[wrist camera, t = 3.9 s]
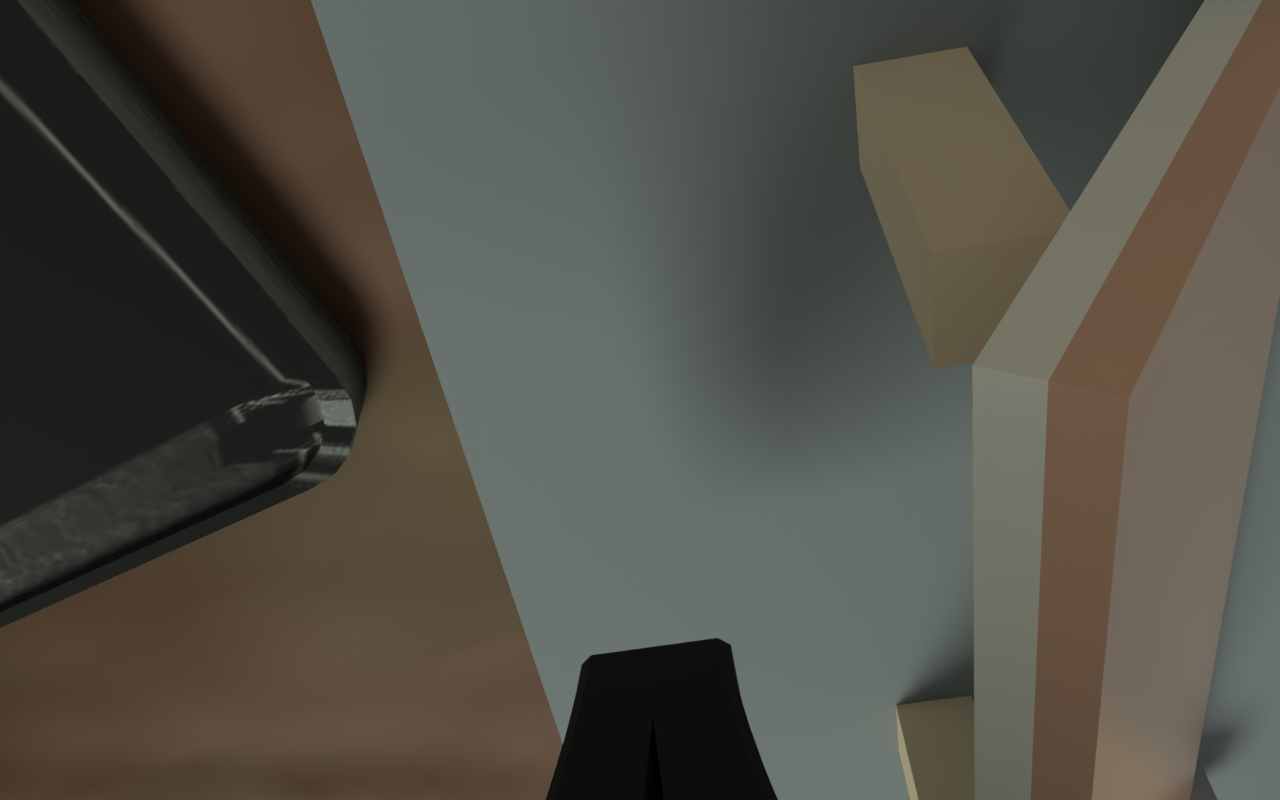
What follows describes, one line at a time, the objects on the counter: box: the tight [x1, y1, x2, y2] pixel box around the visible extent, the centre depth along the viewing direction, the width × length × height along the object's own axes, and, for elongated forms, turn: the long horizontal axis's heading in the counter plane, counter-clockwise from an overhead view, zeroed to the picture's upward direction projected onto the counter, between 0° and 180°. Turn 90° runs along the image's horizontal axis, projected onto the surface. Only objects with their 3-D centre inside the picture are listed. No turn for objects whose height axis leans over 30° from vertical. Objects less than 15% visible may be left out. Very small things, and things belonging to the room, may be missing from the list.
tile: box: [972, 0, 1280, 800], centre depth 12 cm, size 11×6×1 cm
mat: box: [311, 0, 1280, 800], centre depth 13 cm, size 15×16×4 cm
